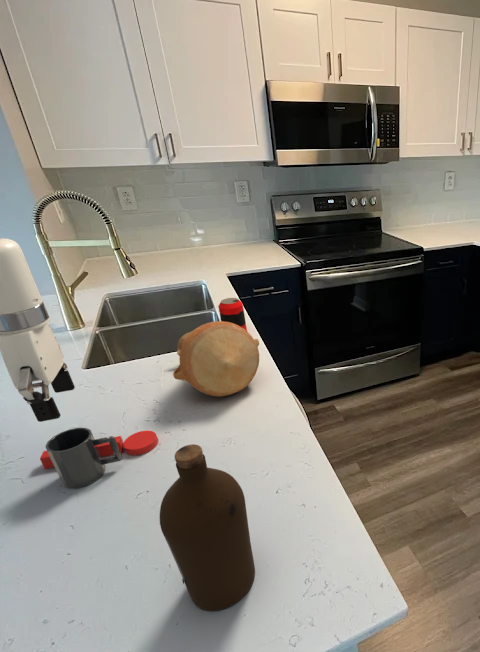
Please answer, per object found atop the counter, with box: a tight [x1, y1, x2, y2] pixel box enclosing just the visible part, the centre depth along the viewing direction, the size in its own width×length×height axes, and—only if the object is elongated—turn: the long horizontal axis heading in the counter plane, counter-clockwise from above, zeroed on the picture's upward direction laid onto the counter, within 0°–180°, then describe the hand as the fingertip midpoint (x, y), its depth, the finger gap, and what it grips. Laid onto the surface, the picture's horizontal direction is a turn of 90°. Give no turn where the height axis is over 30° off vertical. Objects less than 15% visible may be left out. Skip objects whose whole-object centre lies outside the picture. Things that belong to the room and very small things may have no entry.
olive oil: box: [159, 443, 256, 612], centre depth 58 cm, size 11×11×25 cm
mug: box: [44, 427, 123, 490], centre depth 82 cm, size 11×7×9 cm, turn 111°
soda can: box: [218, 297, 248, 332], centre depth 139 cm, size 8×8×12 cm
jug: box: [172, 320, 260, 397], centre depth 112 cm, size 20×19×30 cm
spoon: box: [39, 430, 159, 470], centre depth 88 cm, size 21×6×3 cm, turn 111°
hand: (58, 404), depth 76 cm, fingers open, 9 cm apart
